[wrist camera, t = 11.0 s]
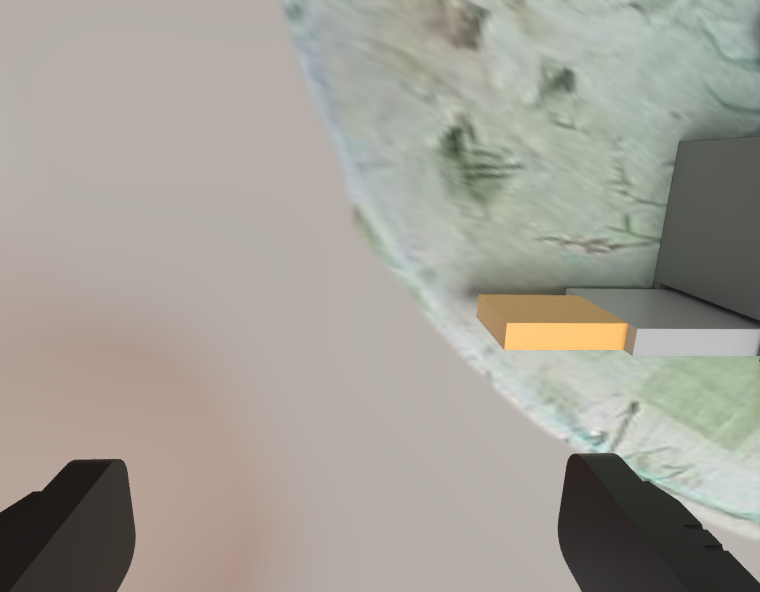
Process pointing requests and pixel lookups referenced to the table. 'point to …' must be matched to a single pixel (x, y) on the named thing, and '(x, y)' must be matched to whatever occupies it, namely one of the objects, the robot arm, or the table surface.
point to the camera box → (714, 224)
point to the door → (619, 323)
